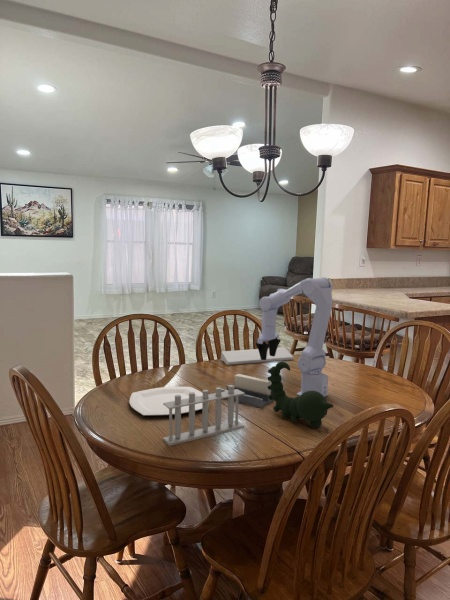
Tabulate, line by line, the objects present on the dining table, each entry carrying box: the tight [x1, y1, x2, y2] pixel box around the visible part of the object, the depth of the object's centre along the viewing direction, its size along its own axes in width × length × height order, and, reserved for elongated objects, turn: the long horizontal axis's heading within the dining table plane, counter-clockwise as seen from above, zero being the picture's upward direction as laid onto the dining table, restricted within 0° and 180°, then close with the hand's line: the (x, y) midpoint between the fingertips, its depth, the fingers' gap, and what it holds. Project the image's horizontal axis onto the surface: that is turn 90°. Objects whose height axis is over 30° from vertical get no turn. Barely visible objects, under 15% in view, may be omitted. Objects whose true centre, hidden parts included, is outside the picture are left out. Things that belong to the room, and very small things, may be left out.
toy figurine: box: [267, 361, 334, 429], centre depth 135 cm, size 9×19×25 cm
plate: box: [128, 386, 210, 417], centre depth 150 cm, size 27×27×2 cm
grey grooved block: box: [221, 381, 274, 409], centre depth 158 cm, size 18×16×3 cm
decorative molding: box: [220, 346, 294, 366], centre depth 210 cm, size 34×5×10 cm
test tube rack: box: [162, 384, 245, 447], centre depth 126 cm, size 25×4×13 cm, turn 121°
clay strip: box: [233, 373, 271, 395], centre depth 158 cm, size 14×2×6 cm, turn 55°
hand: (267, 357), depth 177 cm, fingers open, 7 cm apart
